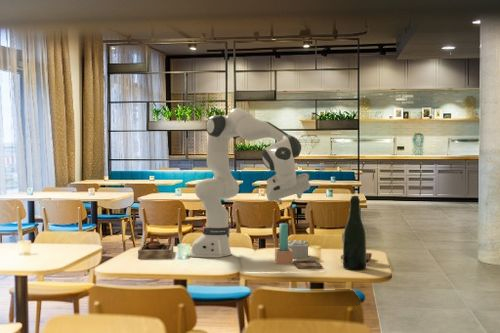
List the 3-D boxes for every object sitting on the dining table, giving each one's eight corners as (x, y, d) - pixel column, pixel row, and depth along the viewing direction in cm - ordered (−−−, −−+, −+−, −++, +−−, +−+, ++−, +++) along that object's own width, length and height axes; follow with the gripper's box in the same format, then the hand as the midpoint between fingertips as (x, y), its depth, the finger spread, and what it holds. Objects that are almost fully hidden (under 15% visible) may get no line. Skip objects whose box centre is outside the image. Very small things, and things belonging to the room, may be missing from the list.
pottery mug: (141, 258, 309) (140, 242, 313) (149, 263, 317) (148, 248, 321) (164, 252, 307) (162, 237, 311) (171, 258, 315) (170, 242, 319)
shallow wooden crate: (138, 258, 305) (138, 250, 305) (142, 252, 323) (142, 244, 323) (170, 258, 306) (170, 250, 306) (173, 251, 324) (173, 244, 324)
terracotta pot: (276, 265, 288) (276, 251, 288) (274, 262, 295) (274, 248, 295) (292, 265, 288) (292, 251, 288) (290, 262, 296) (290, 248, 296)
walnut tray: (297, 270, 276) (297, 266, 276) (293, 264, 290) (293, 260, 290) (322, 270, 277) (322, 265, 277) (317, 264, 291) (317, 260, 291)
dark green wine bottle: (338, 267, 284) (338, 195, 283) (357, 265, 288) (358, 194, 287) (351, 271, 275) (351, 197, 273) (370, 269, 279) (371, 196, 278)
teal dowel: (279, 262, 290) (279, 224, 289) (278, 261, 294) (279, 223, 293) (288, 262, 290) (288, 224, 289) (287, 261, 294) (287, 223, 293)
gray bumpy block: (286, 260, 301) (286, 242, 301) (288, 255, 314) (288, 238, 314) (308, 260, 300) (308, 242, 300) (309, 255, 313) (309, 238, 313)
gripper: (306, 167, 280) (308, 189, 290) (263, 181, 278) (267, 202, 287) (311, 176, 276) (313, 198, 285) (267, 190, 273) (271, 211, 282)
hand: (289, 200), depth 286 cm, fingers open, 8 cm apart
